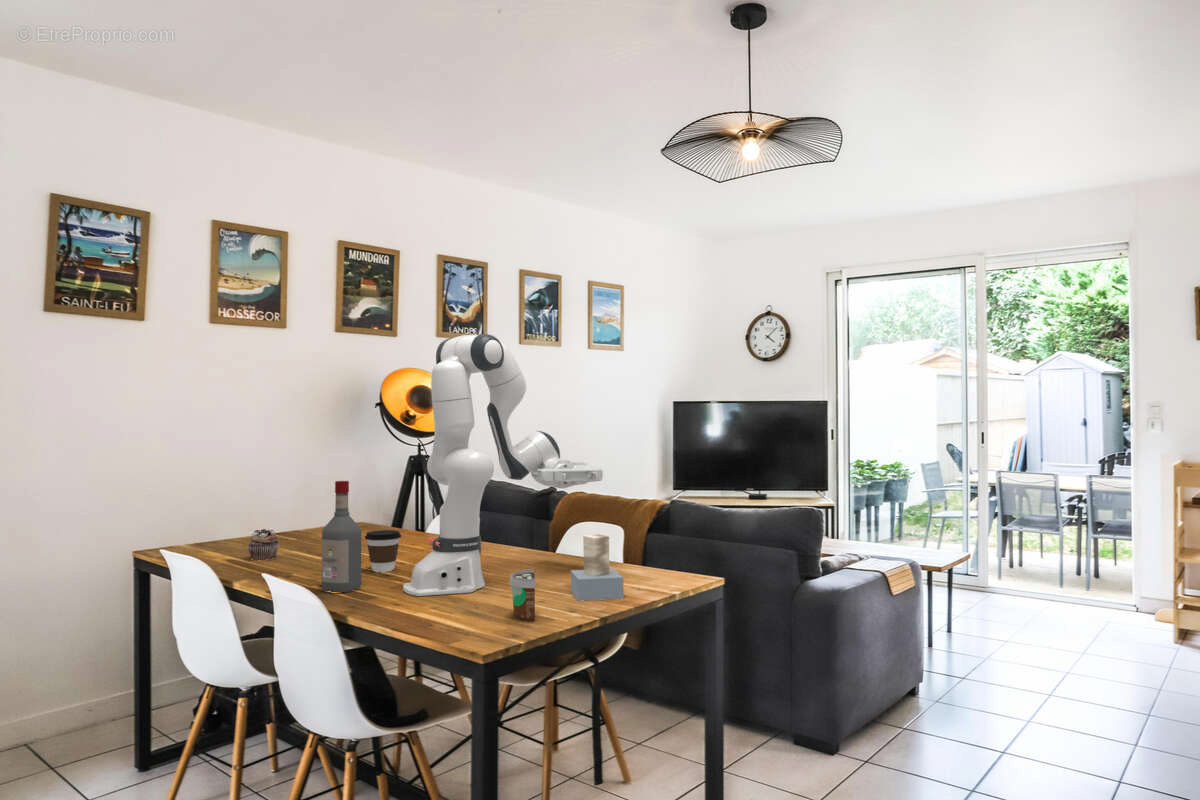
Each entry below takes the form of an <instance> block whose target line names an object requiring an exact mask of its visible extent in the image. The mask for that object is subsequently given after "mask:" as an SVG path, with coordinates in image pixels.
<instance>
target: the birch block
mask: <svg viewBox="0 0 1200 800" xmlns="http://www.w3.org/2000/svg"><path fill="white" fill-rule="evenodd" d="M582 539H583V541H582V542H583V544H582V545H583V570H584V573H585V574H588V575H591V576H599V575H606V574H610V571H609V569H610V536H609V535H605V534H604V535H603V534H598V533H597V534H589V535H588V534H587V535H583V537H582Z"/></svg>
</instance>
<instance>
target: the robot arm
mask: <svg viewBox="0 0 1200 800" xmlns="http://www.w3.org/2000/svg"><path fill="white" fill-rule="evenodd" d="M435 363H436V364H435V365H434V366H433V368H432V371H431V383H430V385H431V389H430V391H431V403H432V413H433V422H434V437H433V444H432V445H433V447H432V452H431V454H430V456H429V457H428V460H427V464H426V469H427V473H428V475H429V476H430V477H431V479H433V480H435V482H437V483H439V484H441V485H442V486H443V485H444V486H448V488H447V493H446V497H445V500H444V502H443V503H442V505H441V506H440V508H439V536H438V537H436V538H434V537H429V538H428V539H427V543H428V545H430V546H432V551H431V552H430V553H428V554H426V556H425V557H424V558H422V559H421V560H420V561H418V562H417V563H416V564H415V565H414V567H413V569H412V572H411V580H410V582H405V583H404V584H403V585H402V590H403V592H405V593H406V594H409V595H410V596H411V595H412V596H416V597H419V596H420V597H421V596H423V597H424V596H436V595H437V596H439V595H451V594H466V593H474V592H475V591H476V590H478V589H481V588H484V587H485V586H486V583H485V580H484V576H483V570H482V564H481V563H482V561H481V554H482V538H481V535H480V510H481V502H482V499H483V495H484V491H485V488H486V486H487V484H489V482H490V481H491V479H492V478H493V476H494V471H495V470H494V469H495V468H494V463H493V460H492V458H491V457H490V456H489V455H488V454H486V453H485V452H483V451H481V450H478V449H476V448H469V441H470V435H471V432H472V430H473V428H474V427H475V416H474V405H473V399H472V398H473V397H472V392H471V391H472V389H471V384H470V379H471V375H472V374H476V373H477V374H478V373H481V374H482V375H483V378H484V381H485V383H486V386H487V388H488V391H489V403H488V405H487V408H486V411H487V413H486V414H487V417H488V422H489V425H490V430H491V433H492V436H493V439H494V443H495V446H496V447H495V448H496V451H497V453H498V462H499V467H500V469H501V471H502V472H503V474H504V476H505V477H506V478H508V479H510V480H514V481H520V480H521V481H522V480H523V479H524V478H525V477H527V476H528V475H529V474H530V475H531V477H532V478H533V480H534V481H536V482H537V483H538V484H540V485H543V486H546V487H552V488H557V489H568V488H570V487H573V486H579V485H586V484H588V483H593V482H601V481H603V476H604V475H603V469H602V468H601V467H597V466H592V465H588V462H587V463H586V462H585V463H584V462H577V461H575V462H574V461H571V460H567V459H562V458H561V450H560V448H559V445H558V443H557V441H556V439H555V438H554V437H553V436H552V435H550V434H549V433H547V432H545V431H541V430H535V431H534V432H532V433H531V434H529V435H528V436H526V437H525V438H524V439H522V440H521V441H519V442H518V443H516V444H515V445H513V443H512V439H511V435H510V433H509V428H508V422H509V419H510V417H511V415H512V413H513V412H514V411H515V410H516V408H517V407H518V406H519V404H521V402H522V401H523V398H524V396H525V394H526V391H527V384H526V383H527V382H526V380H525V377H524V374H523V373H522V370H521V368H520V365H519V364H518V362H517V360H516V359H515V357H514V355H513V354H512V352H511V351H510V349H509V348H508V346H507V345H505V344H504V343H503V342H501V341H500V339H498V338H497V337H495V336H494V335H491V334H488V333H486V334H485V333H480V334H465V335H464V334H463V335H459V336H456V337H449V338H447V339H445V340H443V341H442V342H440V343H439V345H438V346H437V348H436V352H435Z"/></svg>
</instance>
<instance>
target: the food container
mask: <svg viewBox="0 0 1200 800" xmlns="http://www.w3.org/2000/svg"><path fill="white" fill-rule="evenodd" d="M535 571H536V570H535V569H526V570H525V569H523V570H519V571H515V572H512V573H511V576H510V577H509V582H508V585H510V586H511V591H512V592H511V593H512V594H511V595H512V605H513V618H514V617H515V618H514V619H516V618H517V619H516V620H518V619H520V620H519V621H523V620H528V621H527V622H535V621H536V586H535V585H536V577H535V576H536V575H535V574H536V573H535Z"/></svg>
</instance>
